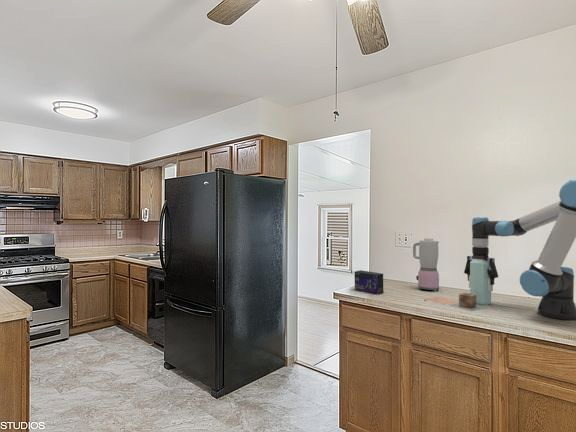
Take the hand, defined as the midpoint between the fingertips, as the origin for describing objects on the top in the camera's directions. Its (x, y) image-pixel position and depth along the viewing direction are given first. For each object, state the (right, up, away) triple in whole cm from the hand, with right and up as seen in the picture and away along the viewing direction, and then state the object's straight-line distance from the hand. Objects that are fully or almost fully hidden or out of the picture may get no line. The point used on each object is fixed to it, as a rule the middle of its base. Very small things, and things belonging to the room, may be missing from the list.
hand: (480, 289), depth 185 cm
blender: (-14, -8, +38) cm, 42 cm away
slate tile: (-11, -8, -8) cm, 15 cm away
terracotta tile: (-18, -8, +6) cm, 20 cm away
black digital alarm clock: (-52, -8, +31) cm, 61 cm away
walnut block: (-11, -7, -8) cm, 15 cm away
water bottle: (0, -7, 0) cm, 7 cm away
